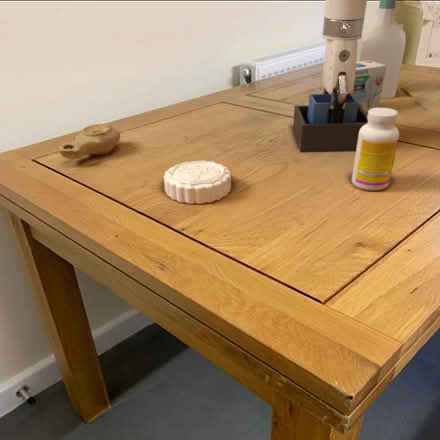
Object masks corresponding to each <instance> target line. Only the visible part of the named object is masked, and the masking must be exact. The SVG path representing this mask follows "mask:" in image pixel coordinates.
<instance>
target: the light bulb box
mask: <svg viewBox="0 0 440 440" xmlns="http://www.w3.org/2000/svg"><path fill="white" fill-rule="evenodd" d="M385 71H386V65H383V64H380V63H376V62H374V61H371V60H368V61H361V62H356V71H355V80H354V89H353V93H352V95H353V96H354V98H355V99H356V100H357V102H358V103H359V104H360V105H361V107H362V108H363V109H364V111H365V112H366V113H367V114H368V111H369V110H370V109H372V108H380V102H381V98H380V97H381V92H382V87H383V81H384V76H385ZM337 92H339V90H338V91H337ZM347 94H348V93H347Z"/></svg>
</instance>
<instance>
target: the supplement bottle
mask: <svg viewBox="0 0 440 440" xmlns="http://www.w3.org/2000/svg"><path fill="white" fill-rule="evenodd" d="M367 114H368V116H367V118H368V123H367V124H365V125H364V126H362V127H361V129H360V130H359V135H358V142H357V148H356V151H355V155H354V161H353V167H352V173H351V183H352V184H353V185H354V187H356V188H358V189H361V190H365V191H381V190H384V189H386V188H388V186H389V185H390V181H391V176H392V172H393V168H394V167H393V166H394V162H395V158H396V153H397V148H398V147H397V146H398V142H399V138H400V131H399V129H398V127H397V126H395V123H396V121H397V119H398V111H397V110H395V109H392V108H388V107H379V108H372V109H370V110H369V111H368V113H367Z"/></svg>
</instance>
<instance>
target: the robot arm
mask: <svg viewBox="0 0 440 440" xmlns="http://www.w3.org/2000/svg"><path fill="white" fill-rule="evenodd" d="M324 4H325V6H324V16H323V25H322V35H321V37H322V38H323V39H325V40H326V44H325V50H324V56H323V65H322V74H321V75H322V77H321V82H322V85H323V92H322V94H330V95H331V101H330V108H329V109H328V117H327V124H335V123H343V117H344V111H345V102H346V99H345V98H346V94H347V93H348V94H349V95H351V94H352V93H353V89H354V80H355V71H356V62H357V48H358V39H360V38H361V37H362V31H363V30H364V23H365V17H366V11H367V4H368V0H325V3H324ZM338 90H339V92H337V91H338ZM334 97H338V98H336V99H335V102H334Z"/></svg>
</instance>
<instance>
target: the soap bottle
mask: <svg viewBox="0 0 440 440" xmlns="http://www.w3.org/2000/svg"><path fill="white" fill-rule="evenodd" d="M396 4H397V0H379V5H378V10H377V14H376V15H375V16H376V17H375V18H374V20H373V21H372V22H371V23H370V25H368V27H366V28H365V29H363V31H362V37H361V38H360V39H357V40H358V48H357V62H361V61H368V60H371V61H374V62H376V63H380V64H383V65H386V71H385V76H384V81H383V87H382V92H381V97H380V99H393V98H395V97H396V95H397V89H398V84H399V79H400V74H401V69H402V63H403V58H404V54H405V50H406V42H407V40H406V39H407V36H406V32H405V30H404V29H403V28H401V27H400V25H399V24H398V23H397V22H396V18H395V17H396V16H395V15H396V13H395V11H396Z"/></svg>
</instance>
